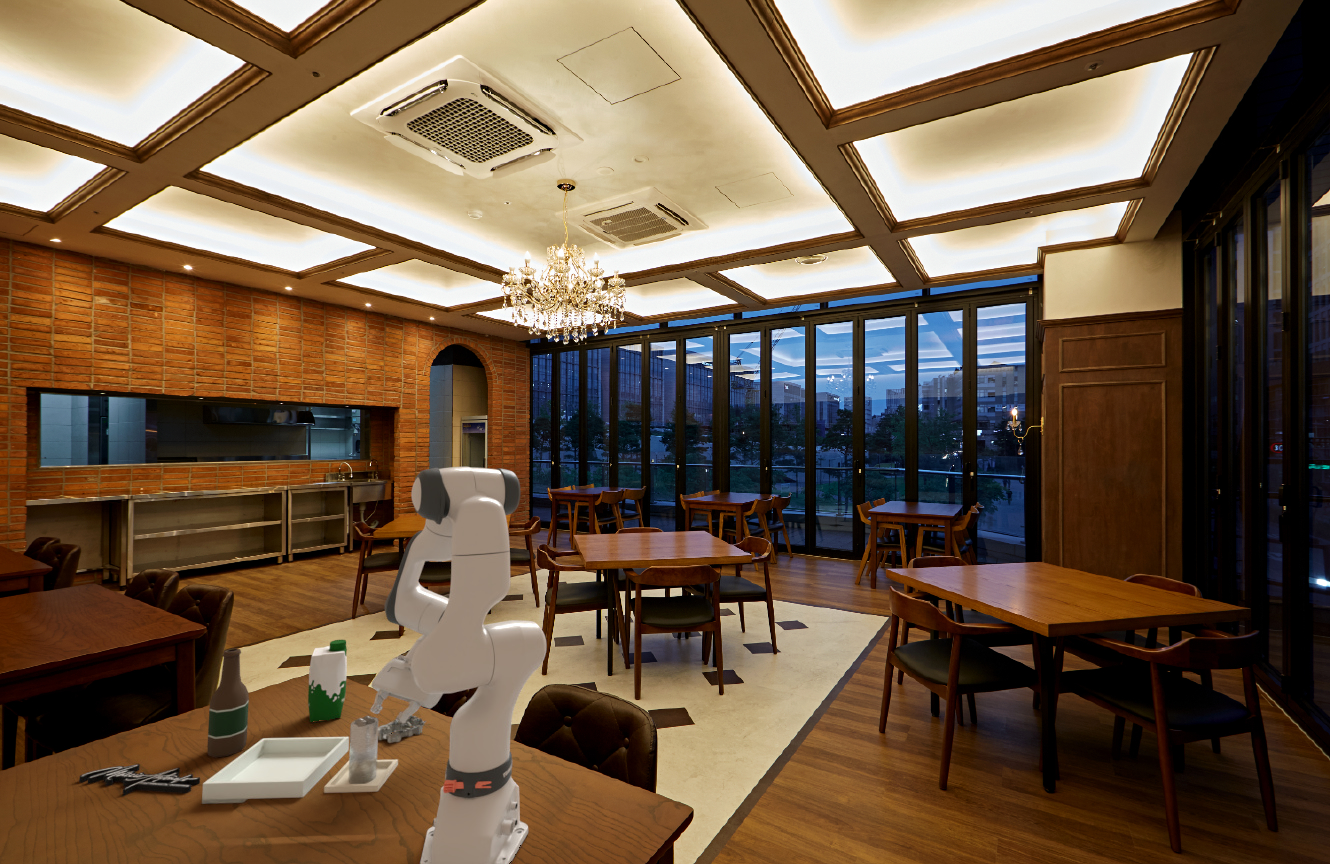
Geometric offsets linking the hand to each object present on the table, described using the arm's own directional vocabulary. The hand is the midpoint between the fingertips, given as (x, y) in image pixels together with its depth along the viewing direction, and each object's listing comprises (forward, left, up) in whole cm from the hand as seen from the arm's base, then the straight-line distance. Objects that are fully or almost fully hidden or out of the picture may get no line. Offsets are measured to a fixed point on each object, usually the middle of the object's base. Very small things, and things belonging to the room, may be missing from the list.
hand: (386, 716), depth 135 cm
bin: (-2, +22, -12) cm, 25 cm away
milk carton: (+30, +28, -12) cm, 43 cm away
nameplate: (-3, +51, -13) cm, 53 cm away
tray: (-5, +3, -12) cm, 13 cm away
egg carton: (+17, +3, -12) cm, 22 cm away
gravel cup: (-5, +3, -11) cm, 12 cm away
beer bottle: (+11, +42, -12) cm, 45 cm away
